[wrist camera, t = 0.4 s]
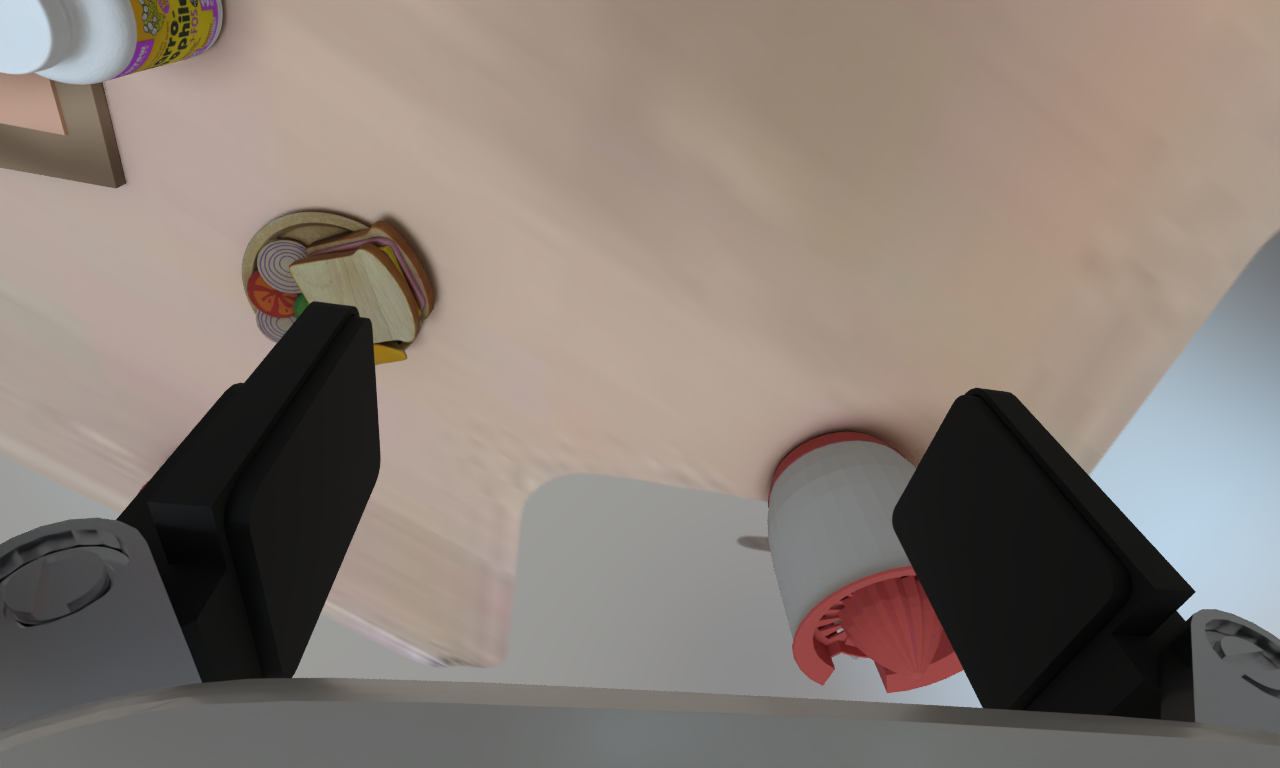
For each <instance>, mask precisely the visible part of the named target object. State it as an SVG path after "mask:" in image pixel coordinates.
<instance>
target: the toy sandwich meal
mask: <svg viewBox="0 0 1280 768" xmlns="http://www.w3.org/2000/svg"><path fill="white" fill-rule="evenodd" d="M242 279H243V285H244V289H245V293H246V296H247V298H248V301H249V303H250V305H251V307H252V309H253V311H254V312H255V314H256V322H257V326H258V328H259V330H260V331H261V332H262V333H263V335H264V336H265V337H267V338H268V339H269V340H271V341H273V342H276V343H278V341H279V340H280V339H281V338H282V337H283V335H284V334H285V333H286V332H287V330H288V329H289V328H290V327H291V326H292V324H293V323H294V322H295V321H296V320H297V318H298V317H299V316H300V315H301V313H302V312H303V311H304V310H305V309H306V307H307V306H308V305H309V304H310V303H311V302H313V301H318V302H326V303H333V304H341V305H348V306H355V307H356V308H357V309H358V312H359V315H360V317H364V318H369V319H370V320H371V322H372V328H373V343H374V359H375V365H378V364H381V363H390V362H395V361H402V360H406V359H407V355H406V353H405V350H406V349H407V348H408V347H409V346H410V345H411V344H412V342H413V341H414V340H415V338H416V336H417V334H418V332H419V330H420V327H421V324H422V320H423V319H426V318H427V317H428V316H429V315H430V313H431V312H432V310H433V307H434V298H433V292H432V289H431V285H430V282H429V280H428V277H427V275H426V272H425V270H424V268H423V267H422V265H421V263H420V261H419V259H418V258H417V256H416V255H415V253H414V252H413V250H412V249H411V248H410V246H409V245H408V244H407V242H406V241H405V240H404V239H403V238H402V237H401V235H400V234H399V233H398V232H397V231H395V230H394V229H393V228H392V227H391V226H390V225H388V224H387V223H385V222H383V221H377V222H376V223H374V224H373V226H372V227H370V228H369V227H367V226H365V225H363V224H361V223H359V222H357V221H354V220H352V219H349V218H346V217H343V216H339V215H335V214H330V213H323V212H299V213H293V214H289V215H285V216H282V217H279V218H277V219H275V220H273V221H271V222H270V223H268V224H266V225H265V226H264V227H262V228H261V229H260V230H259V231H258V232H257V233H256V234H255V235H254V236H253V238H252V239H251V241H250V242H249V244H248V246H247V248H246V251H245V254H244V258H243V263H242Z"/></svg>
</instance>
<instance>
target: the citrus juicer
mask: <svg viewBox="0 0 1280 768" xmlns="http://www.w3.org/2000/svg"><path fill="white" fill-rule="evenodd" d="M916 469H917V468H916V467H914V466H913V465H912V464H911V463H910V462H909V461H907V460H906V458H905V457H904V456H903V455H902V454H901V453H899V452H898V451H897V450H896V449H894V448H893V447H891V446H889V445H888V444H886V443H884V442H882V441H880V440H879V439H877V438H875V437H873V436H870V435H867V434H863V433H857V432H836V433H831V434H826V435H822V436H820V437H817V438H814V439H811V440H809V441H807V442H806V443H804V444H802V445H800V446H799V447H797V448H796V449H794V450H793V451H792V452H790V453H789V454H788V455H787V456H786V458H785V459H784V460H783V461H782V462H781V464H780V465H779V467H778V468H777V470H776V472H775V475H774V477H773V480H772V484H771V488H770V493H769V499H768V508H769V511H768V539H769V545H770V551H771V556H772V561H773V566H774V571H775V574H776V578H777V582H778V585H779V589H780V593H781V596H782V600H783V604H784V608H785V612H786V615H787V619H788V623H789V626H790V630H791V634H792V638H793V645H792V649H793V655H794V659H795V661H796V663H797V664H798V666H799V668H800V670H801V671H802V672H803V673H804V674H805V675H807V676H808V677H809V678H810V679H811V680H813V681H815V682H817V683H819V684H820V685H824V683H825V682H826V681H827V679H828V678H829V677H830V675H831V674H832V672H833V671H834V670H835V668H834V665H833V662H832V659H831V657H833V656H836V655H838V654H840V653H844V654H847V655H849V656H850V657H851V658H852V659H860V658H871V659H872V660H874V662H875V665H876V667H877V669H878V672H879V674H880V677H881V679H882V681H883V684H884V686H885V689H886V691H887V693H892V692H899V691H907V690H911V689H915V688H919V687H923V686H927V685H930V684H932V683H935V682H938V681H941V680H943V679H946V678H948V677H950V676H952V675H954V674H956V673H958V672H960V671H962V670H964V669H963V667H962V665H961V663H960V661H959V659H958V657H957V655H956V653H955V651H954V649H953V647H952V645H951V643H950V641H949V639H948V637H947V635H946V633H945V631H944V629H943V627H942V625H941V623H940V621H939V619H938V617H937V615H936V613H935V611H934V609H933V607H932V605H931V603H930V601H929V599H928V597H927V595H926V593H925V591H924V589H923V587H922V585H921V583H920V581H919V579H918V577H917V575H916V573H915V571H914V569H913V567H912V565H911V563H910V561H909V559H908V557H907V555H906V553H905V551H904V549H903V547H902V545H901V543H900V541H899V539H898V537H897V535H896V533H895V531H894V529H893V525H892V514H893V510H894V508H895V506H896V504H897V502H898V501H899V499H900V497H901V495H902V494H903V492H904V490H905V488H906V486H907V485H908V483H909V481H910V479H911V478H912V476H913V474H914V472H915V470H916Z"/></svg>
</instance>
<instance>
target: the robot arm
mask: <svg viewBox="0 0 1280 768" xmlns="http://www.w3.org/2000/svg"><path fill="white" fill-rule="evenodd" d="M379 469H380V440H379V424H378V408H377V392H376V375H375V359H374V343H373V328H372V322H371V320H370V319H369V318H364V317H360V315H359V312H358V309H357V308H356V307H355V306H348V305H341V304H333V303H326V302H318V301H313V302H311V303H310V304H309V305H308V306H307V307H306V309H305V310H304V311H303V312H302V313H301V315H300V316H299V317H298V318H297V320H296V321H295V322H294V323H293V324H292V326H291V327H290V328H289V329H288V330H287V332H286V333H285V334H284V335H283V337H282V338H281V339H280V340H279V341H278V343H277V344H276V345H275V346H274V348H273V349H272V350H271V351H270V352H269V354H268V355H267V356H266V357H265V358H264V360H263V361H262V362H261V363H260V365H259V366H258V367H257V368H256V369H255V371H254V372H253V373H252V374H251V376H250V377H249V378H248V379H247V380H246V382H245V383H238V384H234V385H232V386H231V387H230V388H229V389H227V390H226V391H225V392H224V393H223V395H222V396H221V397H220V398H219V399H218V401H217V402H216V403H215V404H214V405H213V406H212V408H211V409H210V410H209V411H208V412H207V414H206V415H205V416H204V417H203V418H202V419H201V421H200V422H199V423H198V424H197V425H196V426H195V428H194V429H193V430H192V431H191V432H190V434H189V435H188V436H187V437H186V438H185V439H184V441H183V442H182V443H181V444H180V445H179V446H178V448H177V449H176V450H175V451H174V452H173V454H172V455H171V456H170V457H169V458H168V459H167V461H166V462H165V463H164V464H163V465H162V466H161V468H160V469H159V470H158V471H157V472H156V474H155V475H154V476H153V477H152V478H151V479H150V481H149V482H148V483H147V484H146V485H145V487H144V488H143V489H142V490H141V491H140V492H139V494H138V495H137V496H136V497H135V498H134V499H133V501H132V502H131V503H130V504H129V505H128V507H127V508H126V509H125V510H124V511H123V512H122V514H121V515H120V516H119V517H118V518H117V519H116V520H109V519H102V518H87V519H72V520H66V521H62V522H58V523H54V524H49V525H45V526H41V527H38V528H36V529H33V530H31V531H28V532H26V533H23V534H21V535H18V536H16V537H13V538H11V539H9V540H7V541H6V542H4V543H2V544H1V545H0V768H1280V640H1279V639H1278V638H1277V637H1275V636H1274V635H1272V634H1271V633H1269V632H1268V631H1266V630H1264V629H1262V628H1261V627H1259V626H1257V625H1256V624H1254V623H1252V622H1250V621H1248V620H1245V619H1243V618H1241V617H1238V616H1236V615H1234V614H1231V613H1227V612H1223V611H1219V610H1216V609H1206V610H1205V609H1204V610H1203V609H1202V610H1200V611H1198V612H1197V613H1195V614H1193V615H1192V616H1191V617H1190V618H1189V619H1188V620H1187V621H1185V620H1184V619H1183V618H1182V617H1181V616H1180V615H1179V613H1178V612H1177V611H1176V610H1177V609H1178V608H1179V607H1180V606H1182V605H1183V604H1184V603H1185V602H1186V601H1187V600H1188V599H1189V598H1190V597H1191V596H1192V595H1193V594H1194V593H1195V591H1194V590H1193V588H1192V587H1191V586H1190V585H1189V584H1188V583H1187V582H1186V581H1185V580H1184V579H1183V578H1182V577H1181V576H1180V574H1179V573H1178V572H1177V571H1176V570H1175V569H1174V568H1173V567H1172V566H1171V565H1170V563H1169V562H1167V560H1165V558H1164V557H1163V556H1162V555H1161V554H1160V553H1159V552H1158V550H1157V549H1156V548H1155V547H1154V546H1153V545H1152V544H1151V543H1150V542H1149V541H1148V540H1147V539H1146V537H1145V536H1144V535H1143V534H1142V533H1141V532H1140V531H1139V530H1138V529H1137V528H1136V527H1135V525H1134V524H1133V523H1132V522H1131V521H1130V520H1129V519H1128V518H1127V517H1126V516H1125V515H1124V514H1123V512H1122V511H1121V510H1120V509H1119V508H1118V507H1117V506H1116V505H1115V504H1114V503H1113V502H1112V500H1111V499H1110V498H1109V497H1108V496H1107V495H1106V494H1105V493H1104V492H1103V491H1102V490H1101V489H1100V487H1099V486H1098V485H1097V484H1096V483H1095V482H1094V481H1093V480H1092V479H1091V478H1090V477H1089V476H1088V474H1087V473H1086V472H1085V471H1084V470H1083V469H1082V468H1081V467H1080V466H1079V465H1078V464H1077V462H1076V461H1075V460H1074V459H1073V458H1072V457H1071V456H1070V455H1069V454H1068V453H1067V452H1066V451H1065V449H1064V448H1063V447H1062V446H1061V445H1060V444H1059V443H1058V442H1057V441H1056V440H1055V439H1054V437H1053V436H1052V435H1051V434H1050V433H1049V432H1048V431H1047V430H1046V429H1045V428H1044V427H1043V426H1042V424H1041V423H1040V422H1039V421H1038V420H1037V419H1036V418H1035V417H1034V416H1033V415H1032V414H1031V413H1030V411H1029V410H1028V409H1027V408H1026V407H1025V406H1024V405H1023V404H1022V403H1021V402H1020V401H1019V399H1018V398H1017V397H1016V396H1014V395H1013V394H1012V393H1009V392H1004V391H996V390H989V389H981V388H974V389H971V390H969V391H968V392H967V393H966V394H965V395H962V396H959V397H958V398H957V399H956V400H955V401H954V403H953V405H952V406H951V408H950V410H949V412H948V414H947V415H946V417H945V419H944V421H943V422H942V424H941V426H940V428H939V430H938V431H937V433H936V435H935V437H934V438H933V440H932V442H931V444H930V446H929V447H928V449H927V451H926V453H925V454H924V456H923V458H922V460H921V462H920V463H919V465H918V467H917V469H916V470H915V472H914V474H913V476H912V478H911V479H910V481H909V483H908V485H907V486H906V488H905V490H904V492H903V494H902V495H901V497H900V499H899V501H898V502H897V504H896V506H895V508H894V510H893V514H892V525H893V529H894V531H895V533H896V535H897V537H898V539H899V541H900V543H901V545H902V547H903V549H904V551H905V553H906V555H907V557H908V559H909V561H910V563H911V565H912V567H913V569H914V571H915V573H916V575H917V577H918V579H919V581H920V583H921V585H922V587H923V589H924V591H925V593H926V595H927V597H928V599H929V601H930V603H931V605H932V607H933V609H934V611H935V613H936V615H937V617H938V619H939V621H940V623H941V625H942V627H943V629H944V631H945V633H946V635H947V637H948V639H949V641H950V643H951V645H952V647H953V649H954V651H955V653H956V655H957V657H958V659H959V661H960V663H961V665H962V667H963V669H964V671H965V673H966V675H967V677H968V679H969V681H970V683H971V685H972V687H973V689H974V691H975V693H976V695H977V697H978V699H979V701H980V703H981V705H982V707H983V708H971V707H953V706H937V705H919V704H901V703H882V702H881V703H880V702H864V701H845V700H825V699H808V698H807V699H806V698H788V697H770V696H751V695H732V694H712V693H711V694H710V693H692V692H672V691H651V690H630V689H608V688H588V687H587V688H586V687H565V686H546V685H544V686H543V685H525V684H524V685H523V684H504V683H484V682H482V683H481V682H452V681H419V680H387V679H355V678H292V676H293V675H294V674H295V671H296V670H297V667H298V665H299V663H300V660H301V658H302V656H303V653H304V651H305V648H306V646H307V644H308V642H309V639H310V637H311V634H312V632H313V630H314V627H315V625H316V623H317V620H318V618H319V616H320V613H321V611H322V608H323V606H324V604H325V601H326V599H327V597H328V594H329V592H330V590H331V587H332V585H333V583H334V580H335V578H336V575H337V573H338V571H339V568H340V566H341V564H342V561H343V559H344V557H345V554H346V552H347V549H348V547H349V545H350V542H351V540H352V538H353V535H354V533H355V531H356V528H357V526H358V523H359V521H360V519H361V516H362V514H363V512H364V509H365V507H366V505H367V502H368V500H369V497H370V495H371V493H372V490H373V488H374V486H375V483H376V481H377V478H378V474H379Z"/></svg>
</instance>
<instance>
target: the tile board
mask: <svg viewBox="0 0 1280 768" xmlns="http://www.w3.org/2000/svg"><path fill="white" fill-rule="evenodd" d="M0 168H6V169H11V170H17V171H23V172H28V173H34V174H39V175H45V176H50V177H56V178H62V179H67V180H73V181H78V182H84V183H89V184H95V185H101V186H106V187H112V188H118V187H120V186H122V185H124V184H126V182H125V178H124V173H123V169H122V165H121V161H120V157H119V153H118V148H117V144H116V140H115V136H114V132H113V127H112V123H111V119H110V115H109V111H108V106H107V102H106V98H105V94H104V90H103V85H102V82H100V83H95V84H85V85H80V84H68V83H62V82H58V81H55V80H51V79H48V78H45V77H43V76H40V75H38V74H36V73H29V74H21V75H17V74H6V73H1V72H0Z"/></svg>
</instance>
